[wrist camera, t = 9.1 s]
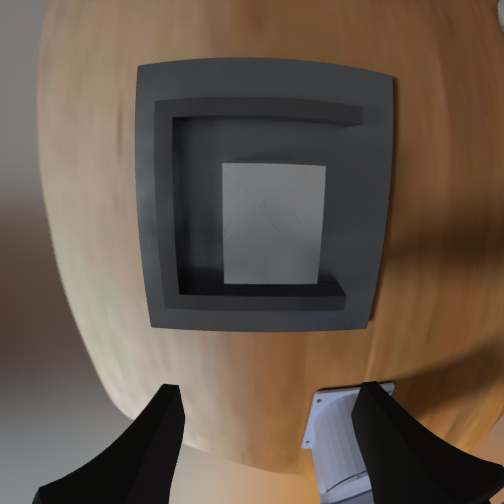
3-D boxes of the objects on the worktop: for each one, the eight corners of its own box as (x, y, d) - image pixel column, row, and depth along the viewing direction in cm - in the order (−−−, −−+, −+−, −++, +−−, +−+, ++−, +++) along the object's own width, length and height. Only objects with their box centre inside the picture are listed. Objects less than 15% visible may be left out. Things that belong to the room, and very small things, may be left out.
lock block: (296, 242, 18) (317, 283, 13) (231, 241, 18) (224, 283, 13) (300, 161, 17) (325, 166, 11) (231, 159, 17) (222, 163, 11)
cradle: (363, 323, 21) (376, 345, 18) (154, 321, 21) (142, 344, 18) (387, 78, 15) (408, 68, 13) (142, 68, 15) (124, 56, 12)
